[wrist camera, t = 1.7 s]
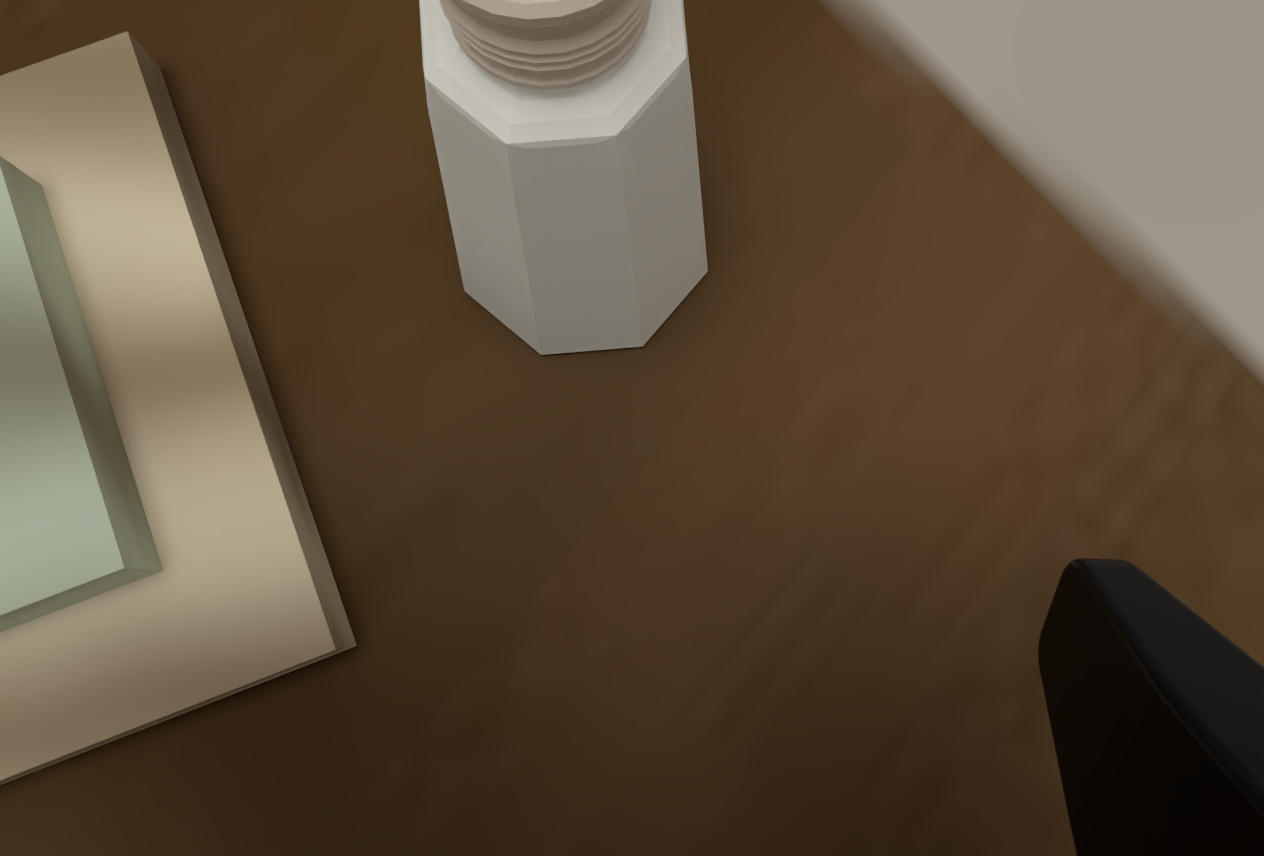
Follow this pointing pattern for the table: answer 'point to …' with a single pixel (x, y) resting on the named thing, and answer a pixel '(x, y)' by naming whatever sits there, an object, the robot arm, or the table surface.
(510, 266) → the salt shaker
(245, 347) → the plinth
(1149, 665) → the robot arm
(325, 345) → the table surface
